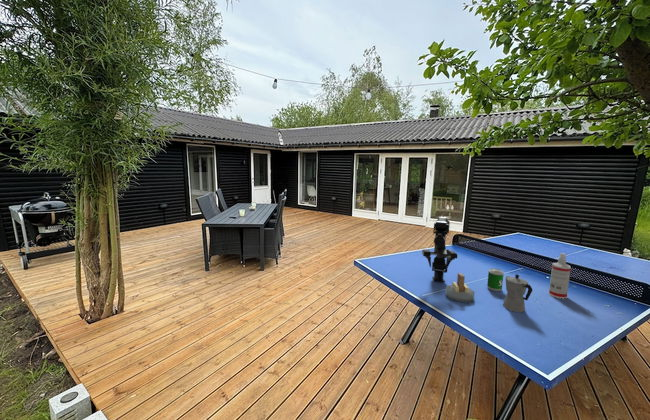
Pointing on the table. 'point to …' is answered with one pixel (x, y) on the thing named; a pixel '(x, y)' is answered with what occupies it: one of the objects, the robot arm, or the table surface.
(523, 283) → the coffeepot
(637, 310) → the table surface
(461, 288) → the tall brown wooden block
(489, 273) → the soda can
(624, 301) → the table surface
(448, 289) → the blue-grey bowl
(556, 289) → the white squeeze bottle
